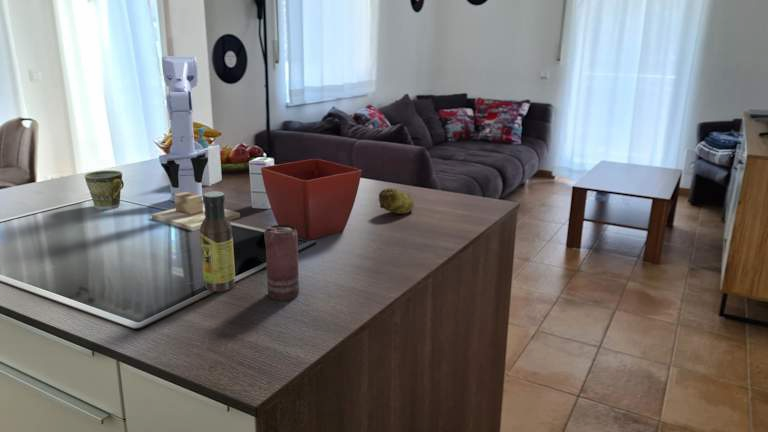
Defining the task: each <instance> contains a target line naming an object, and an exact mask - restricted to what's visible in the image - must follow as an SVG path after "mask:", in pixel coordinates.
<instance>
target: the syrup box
mask: <svg viewBox="0 0 768 432" xmlns="http://www.w3.org/2000/svg"><path fill="white" fill-rule="evenodd" d="M273 165H275V159H274V157H265V156H264V157H263V156H262V157H259V156H258V157H256V158H254V159H252V160H249V161H248V170H249V184H250V185H249V186H250V198H251V208H253V209H259V210H261V209H262V210H263V209H264V210H270V209H271V206H270V203H269V200H268V197H267V194H266V190H265V186H264V182H263V177H262V172H261V168H262V167H267V166H273Z"/></svg>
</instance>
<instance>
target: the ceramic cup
mask: <svg viewBox="0 0 768 432" xmlns="http://www.w3.org/2000/svg"><path fill="white" fill-rule="evenodd" d="M84 180H85V182H86V186H87V189H88V190H89V194H90V196H91V199H92V203H93V205H94V208H95V209H96V210H100V211H106V210H114V209H118V208H119V206H120V204H121V191H122V189H123V188H124V185H125V184H124V181H123V172H122V171H119V170H113V169H109V170H97V171H92V172H87V173H86V174H84Z"/></svg>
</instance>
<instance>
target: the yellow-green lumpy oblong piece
mask: <svg viewBox="0 0 768 432" xmlns="http://www.w3.org/2000/svg"><path fill="white" fill-rule="evenodd" d="M378 202H379V203H378V204H380V206H379V207H380V209H384V210H385V211H387V212H389V213H390V212H393V213H394V214H398V215H404V214H408V213H410V212H411V211H412V210H413V208H414V205H415V200H414V198H413V197H412V196H411V195H410V194H409V193H408V194H407V193H404V192H402V191H400V190H399V189H397V188H394V187H387V188H384V189H383V190H381V191H380V192H379V194H378Z"/></svg>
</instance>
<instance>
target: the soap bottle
mask: <svg viewBox="0 0 768 432" xmlns="http://www.w3.org/2000/svg"><path fill="white" fill-rule="evenodd" d="M208 128H209V126H202V127H198V128H197V133H198V135H199V137H197V138H196V142H197V143H199V144H200V145H201V147H202V148H205V149H208V156H205V157H208V162H207V164H206V166H205V169H204V172H203V177H202V182H201V186H203V185H205V186H204V187H211V186H212V184H213V185H215V184H218V183H219V182H222V180H223V179H222V178H223V177H222V165H221V163H222V162H221V149H220V144H215V143H213V144H212V143H209V141H207V138H206V137H204V133H205V132H206V131H207V129H208Z"/></svg>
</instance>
